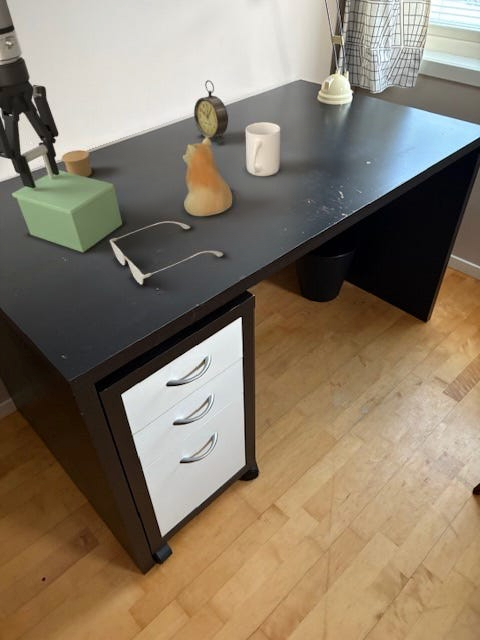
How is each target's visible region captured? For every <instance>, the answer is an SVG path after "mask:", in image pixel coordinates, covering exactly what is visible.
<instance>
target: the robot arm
mask: <svg viewBox="0 0 480 640" xmlns="http://www.w3.org/2000/svg"><path fill="white" fill-rule="evenodd" d="M20 44H21V43H20V41H19V38H18V35H17V31H16V29H15V24H14V22H13V18H12V15H11V12H10V8H9V5H8V2H7V0H0V113H1V116H0V157H1V158H4V159H8V160H10V161H11V164H12V167H13V169H14V171H15V173H16V174H19V176H20V179H21V182H22V184H23V186H24V187H25V186H26V187H29V188H35V187H36V186H35V183H34V181H35V179H34V177H33V178H32V176H33V174H32V175H31V173H32V171H31V172H30V170H31V168H30V169H29V167H30V165H29V162H28V163H27V160H26V157H25V156H21V153H22V152H21V150H22V149H21V139H20V128H19V122H20V120H21V119H20V115H22V114H24V116H25V117H26V119H27V120H28V122H29V124H30V125H31V126H32V129H33V130H34V131H35V133H36V134H37V136H38V138H39V139H40V141H41V142H39V143H38V146H40V145H45V146H46V148H47V150H48V152H47V153H46V154H47V157H48V160H49V164H50V167H51V170H52V173H53V174H54V175H59V170H60V169H59V167H58V164H57V161H56V157H57V153H56V149H55V146H54V144H56V142H57V139H56V138H57V137H59V135H60V133H59V130H58V127H57V124H56V122H55V119H54V116H53V112H52V110H51V107H50V105H49V102H48V98H47V89H46V86H44V85H39V84H33V85H32V83H31V82H30V81H29V80H30V74H29V71H28V67H27V63H26V60H25V59H24V58H23V57H22V54H23V50H22V48H21V45H20ZM33 101H34V102H33ZM28 165H29V166H28ZM33 179H34V180H33Z"/></svg>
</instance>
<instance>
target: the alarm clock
mask: <svg viewBox="0 0 480 640" xmlns="http://www.w3.org/2000/svg"><path fill="white" fill-rule="evenodd" d="M208 82H209V83H210V84H211V86H212V91H211V90H209V89H208V87H207V83H208ZM204 86H205V89H206V91H207V93H208V95H207V96H203V97H200V98H199V99H197V100H196V102H195V105H194V108H193V109H194V110H193V116H194V122H195V126H196V127H197V129H198V131H199V133H200V134H201V135H200V137H201V138H202V137H205V138H206V137H208V138H209V139H210V140H211V139H214V138H216V139H217V141H218V143H219V144H220V145H222V141H221V136H222V135H224V134H225V133H226V131H227V129H228V125H229V115H228V110H227V107H226V105H225V103H224V102H223V100H222V99H220V97H218V96H217V95H212V94H213V93H214V91H215V86H214V83H213V82H212V81H211V80H209V79H207V80H206V81H205V84H204Z"/></svg>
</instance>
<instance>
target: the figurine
mask: <svg viewBox="0 0 480 640" xmlns="http://www.w3.org/2000/svg"><path fill="white" fill-rule="evenodd" d="M182 159H183V161H184V162H185V164H186V166H187V170H186V174H185V175H186V176H185V182H186V187H187V189H188V193H187V195H186V197H185V199H184V201H183V202H184V209H185V211H186V212H187V213H188V214H190V215H192V216H194V217H208V216H209V217H210V216H214V215H217V214H220V213H224V212H225V211H227V210H228V209H230V208H231V207H232V204H233V193H232V190H231V188H230V186H229V184H228V183H227V182H226V180H225V179H224V178H223V177H222V176H221V173H220V172H219V170H218V168H217V166H216V163H215V155H214V152H213V150H212V141H211V139H209V138H208V137H205V138H204V139H203V140H202V142H197V143H193V144H188V145H187V148H186V151H185V154H182Z"/></svg>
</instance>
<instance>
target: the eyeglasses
mask: <svg viewBox="0 0 480 640" xmlns="http://www.w3.org/2000/svg"><path fill="white" fill-rule="evenodd" d="M167 223H170V224H175V225H179V226H180V227H181V228H182V229H184V230H188V229H190V228H191V226H190V225H188V224H185V223H184V222H179V221H172V220H171V221H170V220H169V221H168V220H167V221H166V220H165V221H160V222H157V223H156V222H155V223H154V224H151V225H149V226H146V227H142V228H140V229H137V230H134V231H132V232H129V233H127V234H124V235H122V236H120V237H114V238H111V239H109V243H110V245H111V249H112V251H113V253H114V255H115V257H116V259H117V260H118V262H119V263H120V264H121V265H122V266H125V265H126V262H127V263H128V266H129V269H130V272H131V274H132V276H133V278H134V279H135V281H136V282H137V283H139V285H143V284H144V279H147V278H149V277H151V276H152V275H153V274H156V273H158V272H160V271H163V270H166V269H168V268H171V267H173V266H175V265H178V264H180V263H183V262H184V261H187V260H189V259H193V258H194V257H195V256H198V255H200V254H204V253H211V254H214V255H215V256H216V257H218V258H220V257H223V255H224V253H223V252H221V251H219V250H204V251H200V252H197V253H195V254H193V255H191V256H189V257H187V258H186V259H183V260H181V261H179V262H177V263H174V264H171V265H169V266H166V267H164V268H161V269H159V270H157V271H154V272H148V273H146V274H144V273H142V271H141V270H140V269H139V268H138V267H137V266H136V265H135V264H134V263H133V262H132V261H131V260H130V259H129V258H128V257H127V256H126V255H125V254H124V253H123V252H122V250H121V249H120V248H119V247H118V246H117V244H115V243H114V242H116V241H118V240H119V239H122V238H123V237H126V236H128V235H131V234H133V233H136V232H138V231H141V230H144V229H147V228H149V227H152V226H156V225H160V224H167Z"/></svg>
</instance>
